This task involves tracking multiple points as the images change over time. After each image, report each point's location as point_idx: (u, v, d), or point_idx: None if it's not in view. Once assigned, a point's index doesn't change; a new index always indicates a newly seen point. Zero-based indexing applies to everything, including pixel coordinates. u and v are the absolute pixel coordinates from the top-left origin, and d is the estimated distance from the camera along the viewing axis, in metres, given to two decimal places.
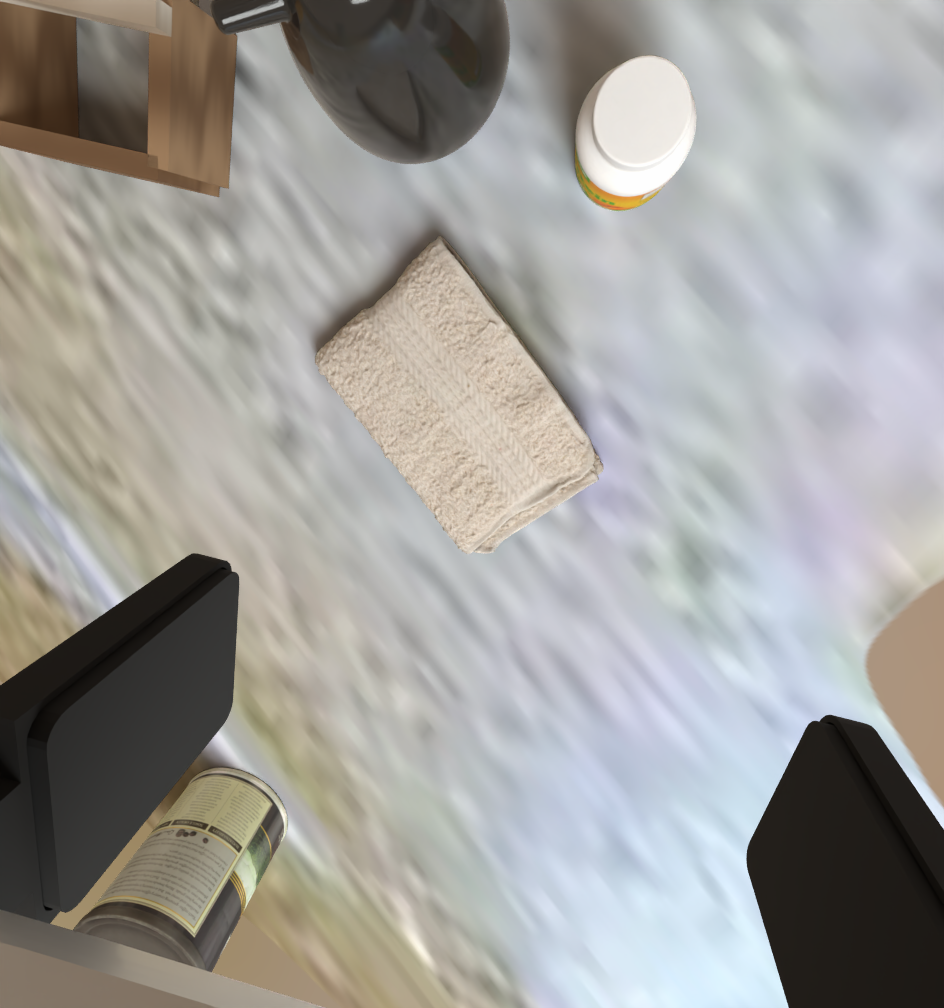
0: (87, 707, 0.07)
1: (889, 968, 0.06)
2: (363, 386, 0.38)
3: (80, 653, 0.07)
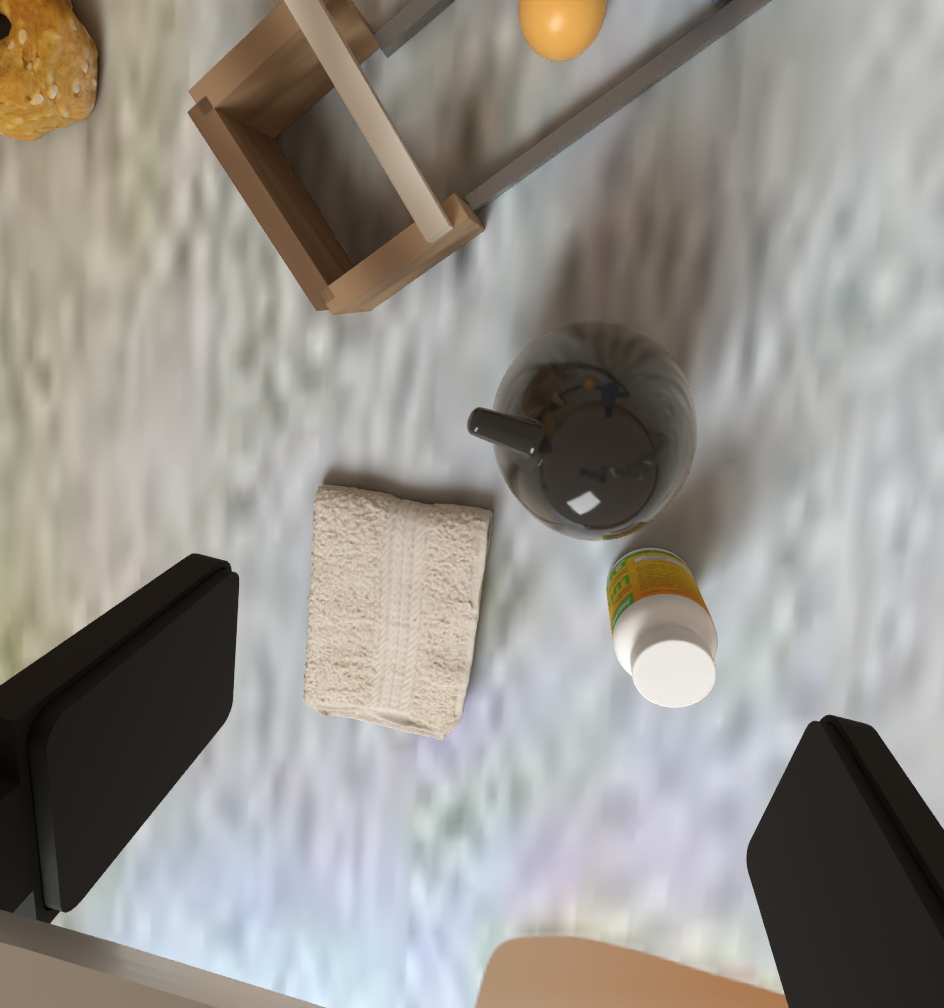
0: (87, 707, 0.07)
1: (889, 968, 0.06)
2: (338, 549, 0.38)
3: (79, 654, 0.07)
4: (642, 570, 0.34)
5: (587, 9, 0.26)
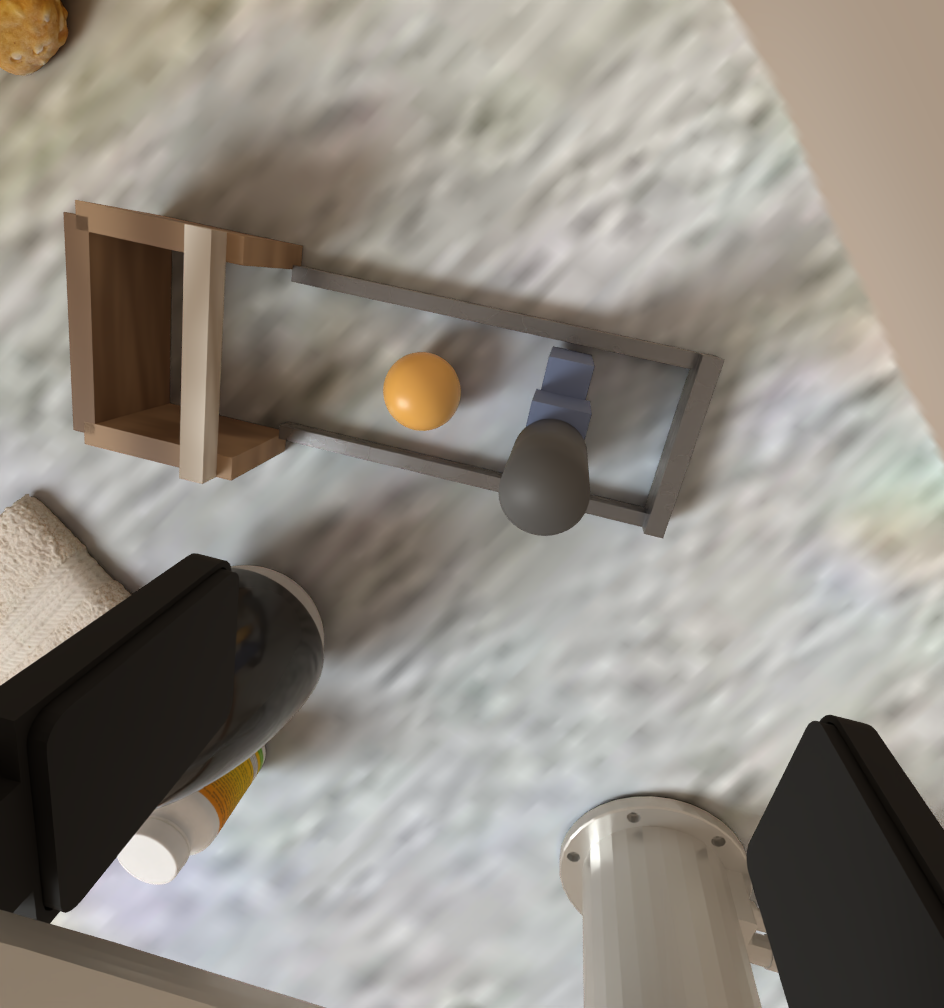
0: (87, 707, 0.07)
1: (889, 968, 0.06)
2: (0, 555, 0.39)
3: (79, 653, 0.07)
4: None
5: (422, 422, 0.30)
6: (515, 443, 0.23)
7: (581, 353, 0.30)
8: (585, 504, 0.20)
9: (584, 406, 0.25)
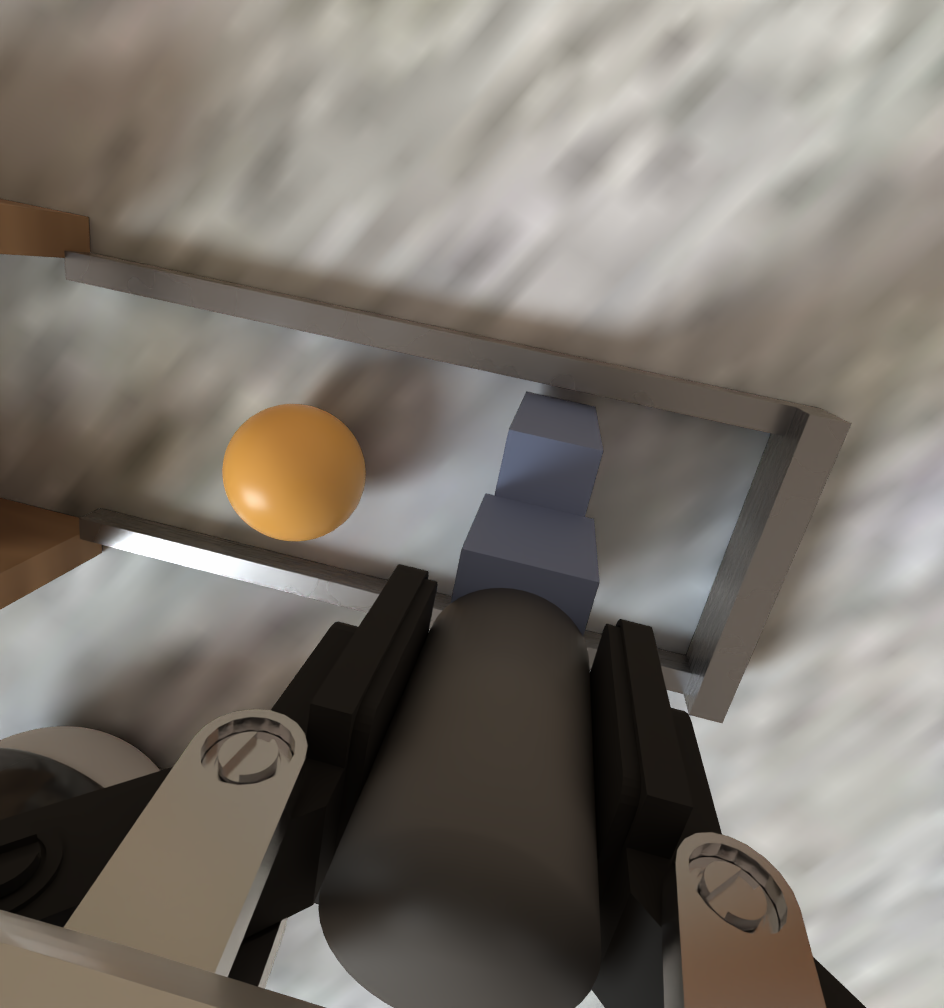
0: (382, 703, 0.07)
1: (601, 795, 0.08)
2: None
3: (366, 656, 0.08)
4: None
5: (289, 533, 0.17)
6: (417, 663, 0.10)
7: (577, 405, 0.17)
8: (586, 976, 0.06)
9: (582, 546, 0.11)
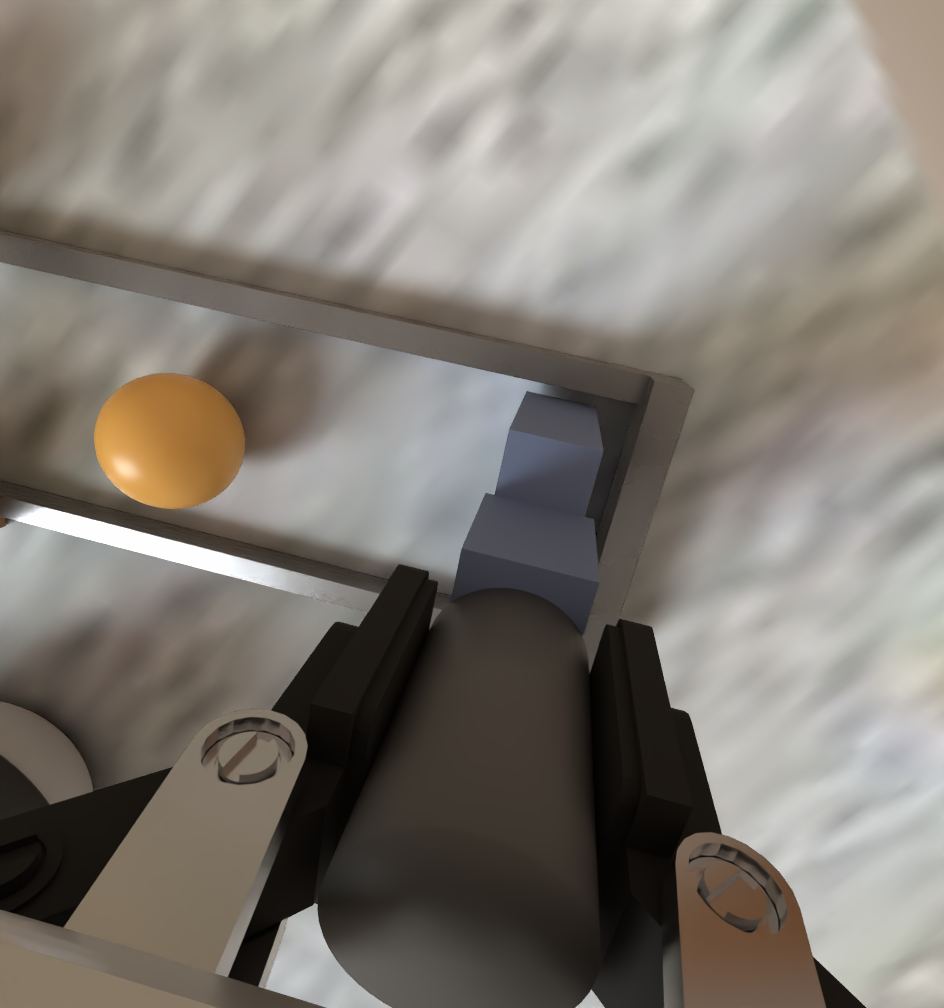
0: (382, 703, 0.07)
1: (601, 795, 0.08)
2: None
3: (366, 656, 0.08)
4: None
5: (159, 499, 0.17)
6: (416, 662, 0.10)
7: (577, 405, 0.17)
8: (585, 977, 0.06)
9: (582, 546, 0.11)
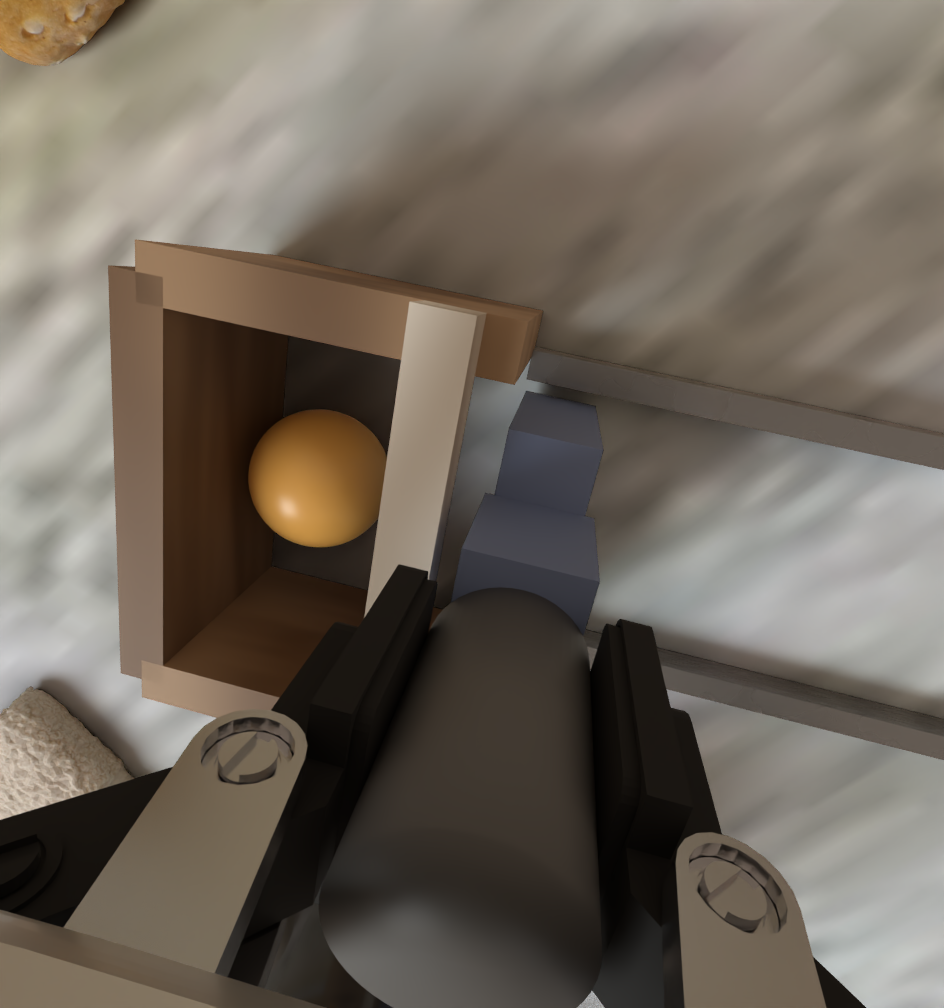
0: (382, 703, 0.07)
1: (601, 795, 0.08)
2: None
3: (365, 655, 0.08)
4: None
5: (362, 532, 0.17)
6: (417, 662, 0.10)
7: (577, 405, 0.17)
8: (586, 977, 0.06)
9: (583, 545, 0.11)
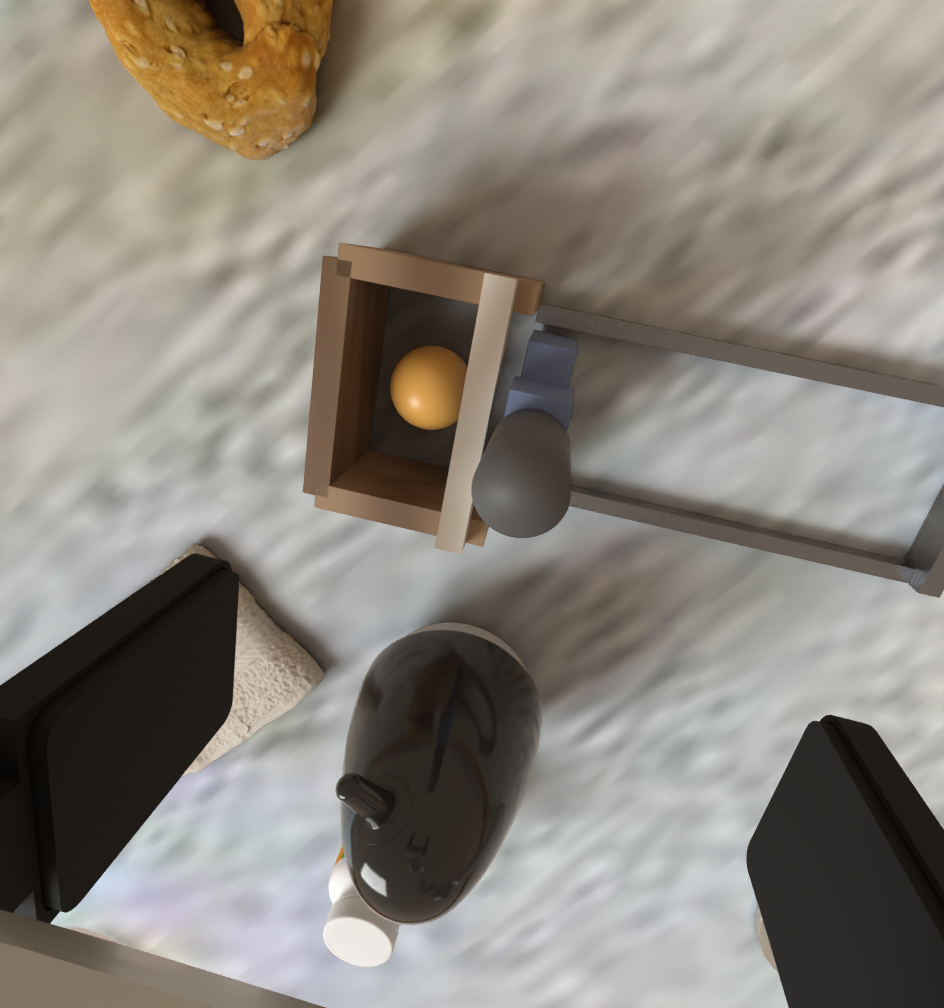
0: (87, 707, 0.07)
1: (889, 968, 0.06)
2: None
3: (80, 654, 0.07)
4: None
5: None
6: (491, 436, 0.21)
7: (564, 337, 0.28)
8: (566, 503, 0.18)
9: (566, 394, 0.23)
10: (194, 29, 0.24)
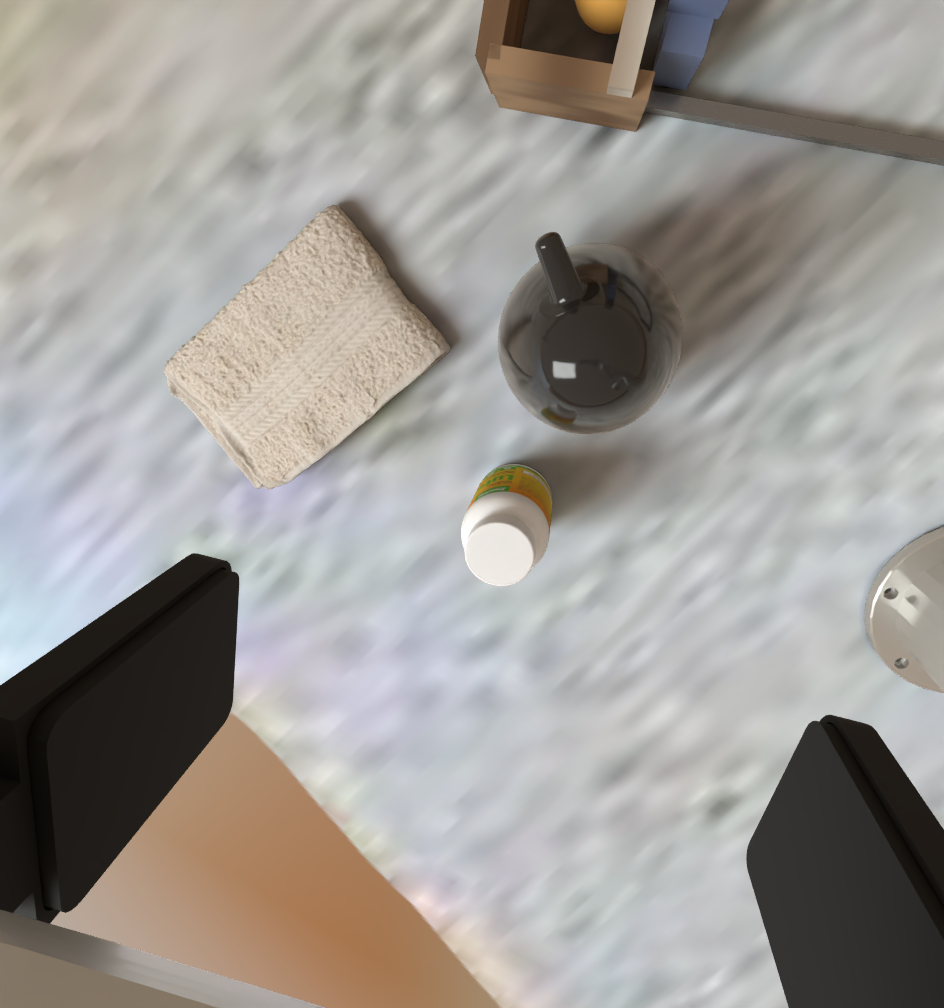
0: (87, 707, 0.07)
1: (889, 968, 0.06)
2: (307, 267, 0.37)
3: (80, 654, 0.07)
4: (525, 479, 0.39)
5: None
6: None
7: None
8: None
9: None
10: None
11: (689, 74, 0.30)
